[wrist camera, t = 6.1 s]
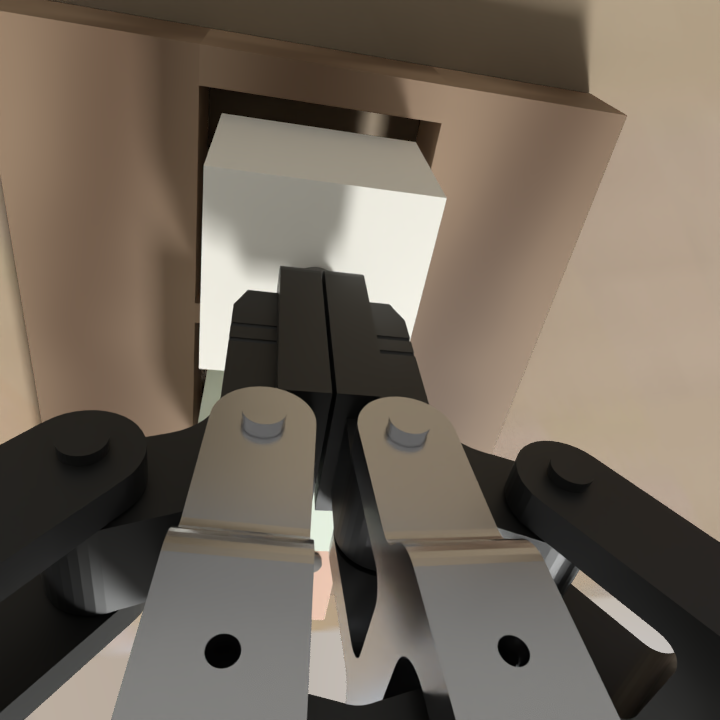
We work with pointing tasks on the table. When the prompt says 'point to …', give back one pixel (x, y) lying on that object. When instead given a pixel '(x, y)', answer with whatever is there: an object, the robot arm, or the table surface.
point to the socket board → (185, 203)
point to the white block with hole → (311, 216)
